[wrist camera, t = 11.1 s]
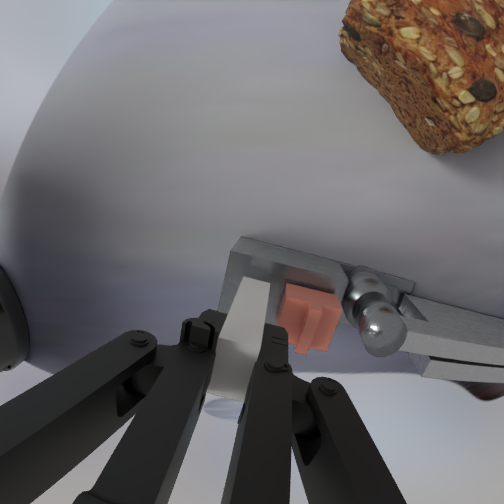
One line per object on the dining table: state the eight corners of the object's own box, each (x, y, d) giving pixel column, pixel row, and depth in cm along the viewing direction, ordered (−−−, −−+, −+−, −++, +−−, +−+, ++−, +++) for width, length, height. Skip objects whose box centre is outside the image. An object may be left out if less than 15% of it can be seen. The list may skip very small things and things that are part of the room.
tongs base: (228, 293, 22) (202, 346, 15) (241, 234, 21) (218, 265, 14) (520, 353, 21) (556, 390, 14) (538, 314, 20) (579, 346, 12)
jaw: (338, 302, 21) (356, 352, 14) (349, 270, 20) (374, 311, 14) (530, 344, 20) (564, 376, 13) (540, 323, 19) (576, 352, 13)
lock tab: (275, 322, 18) (272, 347, 15) (286, 282, 17) (286, 302, 14) (323, 333, 18) (328, 359, 15) (337, 295, 17) (345, 316, 14)
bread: (460, -24, 13) (506, -72, 3) (530, 65, 14) (596, 44, 4) (324, 47, 17) (347, -33, 8) (420, 164, 19) (506, 162, 9)
